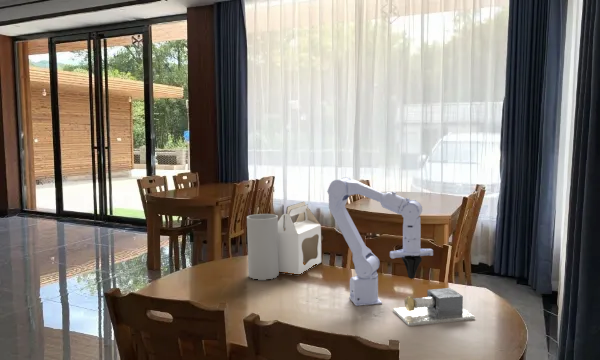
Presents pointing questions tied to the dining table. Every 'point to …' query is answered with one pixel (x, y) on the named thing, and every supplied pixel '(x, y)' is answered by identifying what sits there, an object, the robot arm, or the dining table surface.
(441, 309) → the bearing block
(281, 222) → the gable box
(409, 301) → the shaft
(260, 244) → the cylinder vase
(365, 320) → the dining table surface
